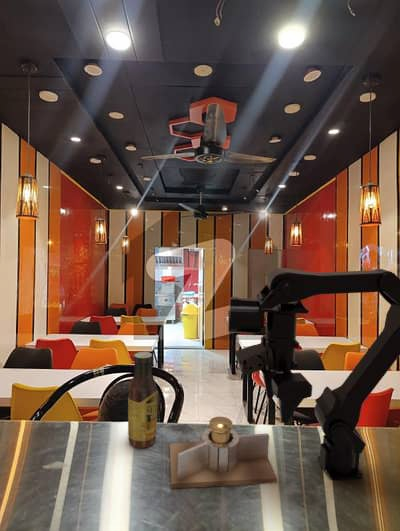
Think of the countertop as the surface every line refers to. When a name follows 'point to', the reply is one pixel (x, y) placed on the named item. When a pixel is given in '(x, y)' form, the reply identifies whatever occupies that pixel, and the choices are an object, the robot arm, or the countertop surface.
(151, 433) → the sauce bottle
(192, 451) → the hinge
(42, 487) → the countertop surface
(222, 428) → the hinge pin
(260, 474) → the walnut board
